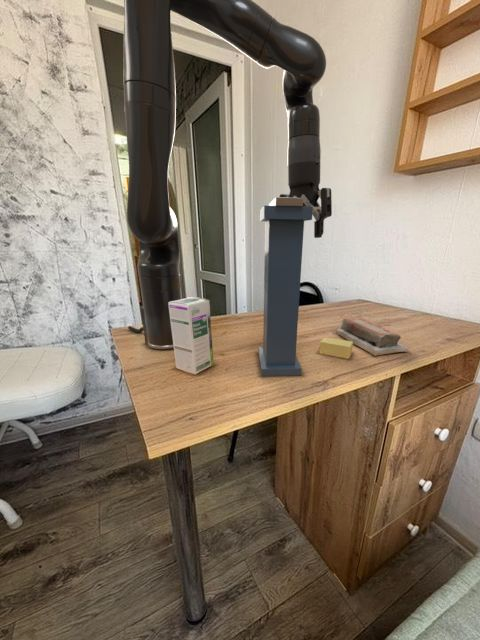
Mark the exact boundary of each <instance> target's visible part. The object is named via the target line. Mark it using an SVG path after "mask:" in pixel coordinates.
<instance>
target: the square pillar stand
mask: <svg viewBox="0 0 480 640" xmlns="http://www.w3.org/2000/svg"><path fill="white" fill-rule="evenodd" d="M312 212H313V207H309V206H269V205H264V206H262V208H261V209H260V210H259V222H264V268H263V269H264V271H263V272H264V273H263V274H264V275H263V277H264V278H263V327H262V329H263V332H262V346H259V347H257V348H258V349H257V350H258V352H257V353H258V360H259V367H260V375H261V377H285V376H286V377H288V376H289V377H290V376H291V377H292V376H296V377H297V376H298V377H299V376H302V367H301V365H300V362H299V361H298V359H297V344H298V343H297V341H298V327H299V326H298V323H299V312H300V311H299V310H300V309H299V308H300V296H301V295H300V294H301V290H300V289H301V277H302V262H303V246H304V230H305V229H304V228H305V222H308V221H312V220H313V215H312Z"/></svg>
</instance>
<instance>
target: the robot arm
mask: <svg viewBox="0 0 480 640" xmlns="http://www.w3.org/2000/svg"><path fill="white" fill-rule="evenodd" d="M123 6H124V10H123V11H124V17H123V18H124V19H123V53H122V54H123V55H122V57H123V60H122V61H123V62H122V63H123V103H124V104H123V105H124V116H125V117H124V118H125V131H126V132H125V133H126V146H127V147H126V148H127V156H128V157H127V158H128V187H127V188H128V189H127V203H126V204H127V205H126V222H127V225H128V228H129V230H130V232H131V233H132V235H133V236H134V237H135V238H136V239H137V241H138V250H139V251H138V252H139V253H138V255H139V256H138V262H137V273H138V279H139V280H138V281H139V286H140V294H141V301H142V302H141V303H142V306H140V315H141V316H140V317H141V322H142V327H139V328H135V327H133V326H130V325H129V326H128V327H127V329H128V330H130V331H132V332H133V333H137V334H141V333H143V337H144V343H145V345H147V346H148V347H149V348H151V349H154V350H174V346H173V338H172V330H171V322H170V313H169V305H168V302H171V301H176V300H180V299H183V294H182V293H183V292H182V281H181V270H180V264H181V251H180V237H179V226H178V219H177V216H176V214H175V212H174V210H173V209H172V208H171V206H170V196H169V175H168V174H169V166H170V160H171V156H172V151H173V144H174V141H175V134H176V122H177V121H176V120H177V119H176V117H177V114H176V113H177V110H176V109H177V93H176V89H177V88H176V71H175V70H176V69H175V59H174V58H175V57H174V48H173V35H172V24H171V23H172V22H171V12H173V13H174V14H177V15H179V16H181V17H183V18H185V19H187V20H188V21H190V22H193V23H195V24H196V25H198V26H201V28H204V29H206V30H207V31H209V32H210V33H212V34H214V35H215V36H218V37H219V38H221V39H222V40H223V41H225V42H226V43H228V44H230V45H231V46H233V47H234V48H235V49H237V50H238V51H239V52H240V53H242V54H243V55H245V56H246V57H247V58H249V59H250V60H252V61H253V62H254V63H256V64H257V65H258V66H260V67H262V68H263V69H266V70H268V69H271V68H273V67H277V68H279V69H281V70H283V72H282V73H283V74H282V93H283V100H284V106H285V110H286V115H287V152H286V153H287V154H286V155H287V156H286V157H287V186H288V188H289V192H288V193H280V195H279V197H291V198H303V206H309V207H313V212H312V217H313V218H314V221H313V222H314V223H313V229H314V230H313V237H314V238H315V239H320V238H322V237H323V235H324V229H325V228H324V225H325V224H324V223H325V219H327V218H330V217H332V215H333V210H332V209H333V207H332V206H333V205H332V201H333V200H332V188H330V187H322V188H320V183H321V152H322V150H321V139H320V137H321V135H320V133H321V117H320V114H321V113H320V109H319V107H318V106H317V104H314V97H313V90H314V88H315V87H316V85H318V83H320V81H321V80H322V79H323V77H324V75H325V72H326V68H327V58H326V54H325V51H324V49H323V47H322V46H321V44H320V43H319V41H317V40H316V39H315V38H314V37H313V36H311V35H309V34H308V33H306V32H303V31H301V30H300V29H296V28H294V27H292V26H290V25H285V24H283V23H281V22H280V21H278V20H277V19H276V18H275V17H273V16H272V15H271V14H270V13H269V12H268V11H266V10H265V9H264V8H262V7H261V6H260V5H258V3H256V2H255V1H253V0H123ZM319 199H320V203H319V201H318V200H319Z"/></svg>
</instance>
